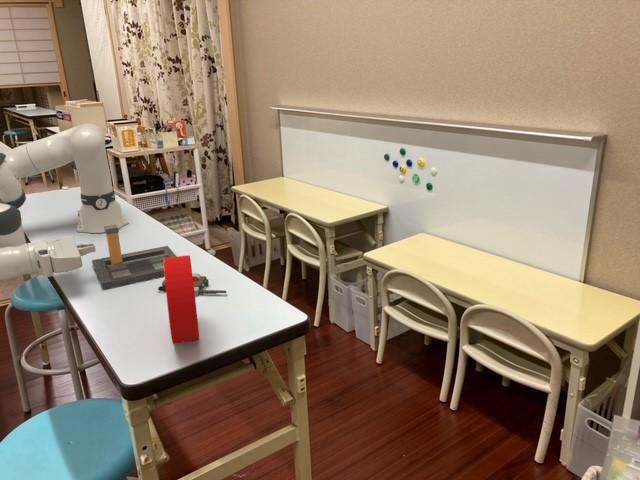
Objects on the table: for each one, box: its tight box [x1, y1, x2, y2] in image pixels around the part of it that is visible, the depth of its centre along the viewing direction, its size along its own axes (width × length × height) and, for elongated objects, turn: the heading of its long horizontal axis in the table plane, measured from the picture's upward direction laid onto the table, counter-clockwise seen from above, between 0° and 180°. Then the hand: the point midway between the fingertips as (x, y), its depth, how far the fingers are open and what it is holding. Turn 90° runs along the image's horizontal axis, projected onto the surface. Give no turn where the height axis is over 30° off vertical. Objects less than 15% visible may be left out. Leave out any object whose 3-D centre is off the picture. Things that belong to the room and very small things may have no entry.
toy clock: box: [164, 254, 200, 345], centre depth 118 cm, size 20×6×20 cm, turn 17°
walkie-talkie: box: [157, 273, 228, 297], centre depth 144 cm, size 9×4×20 cm
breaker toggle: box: [104, 224, 123, 264], centre depth 153 cm, size 3×3×13 cm
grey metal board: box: [91, 245, 178, 291], centre depth 158 cm, size 20×24×4 cm
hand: (94, 247), depth 150 cm, fingers closed
